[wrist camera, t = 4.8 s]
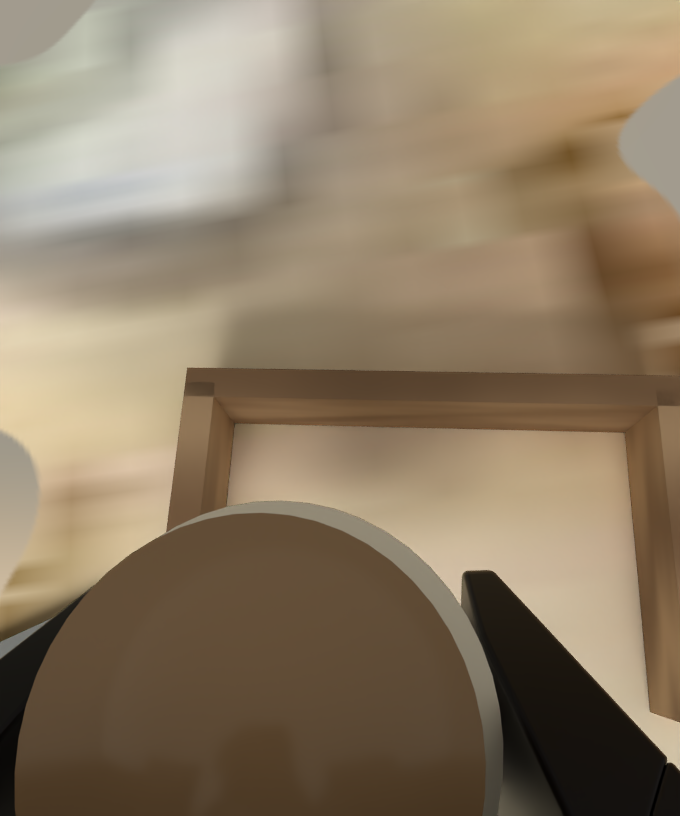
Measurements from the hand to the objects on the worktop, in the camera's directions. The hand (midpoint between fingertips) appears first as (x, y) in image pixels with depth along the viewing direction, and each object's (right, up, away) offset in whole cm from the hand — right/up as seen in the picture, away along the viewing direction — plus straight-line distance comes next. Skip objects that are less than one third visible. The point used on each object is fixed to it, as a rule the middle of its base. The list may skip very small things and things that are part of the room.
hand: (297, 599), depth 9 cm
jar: (+1, -3, +6) cm, 7 cm away
